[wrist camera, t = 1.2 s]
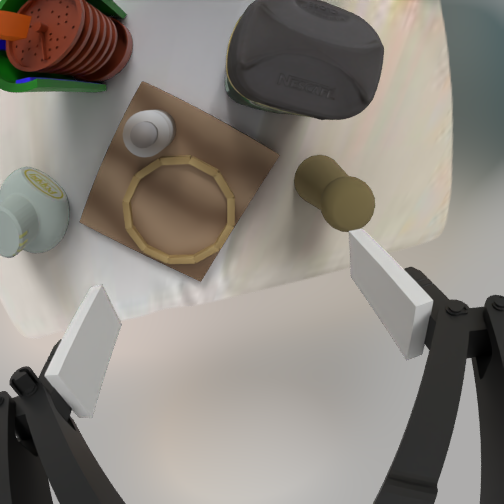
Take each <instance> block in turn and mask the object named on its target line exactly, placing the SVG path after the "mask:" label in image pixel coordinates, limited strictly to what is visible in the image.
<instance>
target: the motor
mask: <svg viewBox="0 0 504 504" xmlns="http://www.w3.org/2000/svg"><path fill="white" fill-rule="evenodd" d="M126 15H127V14H126V13H125V12H124V11H123V10H122V9H121V8H120V7H119V6H117V5H116V4H115V3H114V2H113V1H112V0H1V1H0V89H2V90H4V91H8V92H49V91H62V92H102V91H106V90H107V89H106V85H103V84H100V83H92V82H100V81H105V80H107V79H110V78H112V77H113V76H115V75H116V74H118V73H119V72H120V71H121V70H122V69H123V68H124V67H125V65H126V64H127V62H128V61H129V59H130V56H131V53H132V49H133V40H132V36H131V33H130V32H129V30H128V29H127V28H126V27H125V26H124V25H123V24H122V23H120V22H119V21H118V20H116V19H114V18H112V17H107V16H114V17H119V18H122V19H124V18H125V16H126ZM74 77H75V78H77V79H79V80H83V81H77V80H75V79H74ZM84 81H90V82H84Z"/></svg>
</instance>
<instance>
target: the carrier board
mask: <svg viewBox="0 0 504 504" xmlns="http://www.w3.org/2000/svg"><path fill="white" fill-rule="evenodd" d="M279 156H280V155H279V154H277V153H276V152H274V151H273V150H271V149H269V148H268V147H266V146H264V145H263V144H261V143H259V142H258V141H256V140H254V139H252V138H251V137H249V136H247V135H246V134H244V133H242V132H240V131H239V130H237V129H235V128H233V127H231V126H230V125H228V124H226V123H224V122H222V121H221V120H219V119H217V118H215V117H213V116H211V115H210V114H208V113H206V112H204V111H202V110H200V109H198V108H196V107H194V106H193V105H191V104H189V103H187V102H185V101H183V100H181V99H179V98H177V97H175V96H173V95H171V94H169V93H167V92H165V91H163V90H160V89H158V88H156V87H154V86H152V85H150V84H148V83H146V82H142V83H141V84H140V86H139V88H138V90H137V92H136V93H135V95H134V97H133V99H132V101H131V103H130V105H129V107H128V109H127V110H126V112H125V114H124V116H123V118H122V120H121V122H120V124H119V127H118V129H117V131H116V133H115V135H114V137H113V139H112V141H111V144H110V146H109V148H108V150H107V152H106V155H105V157H104V159H103V162H102V164H101V166H100V169H99V171H98V174H97V176H96V179H95V181H94V184H93V186H92V189H91V191H90V194H89V197H88V199H87V202H86V205H85V208H84V210H83V213H82V216H81V219H80V223H82V224H84V225H86V226H88V227H90V228H92V229H94V230H96V231H98V232H100V233H101V234H103V235H105V236H107V237H109V238H111V239H113V240H115V241H117V242H119V243H121V244H123V245H125V246H127V247H129V248H131V249H133V250H135V251H137V252H139V253H141V254H143V255H146V256H148V257H150V258H152V259H154V260H156V261H158V262H160V263H162V264H164V265H166V266H168V267H170V268H173V269H175V270H177V271H179V272H181V273H183V274H185V275H187V276H190V277H192V278H194V279H196V280H198V281H200V282H201V281H202V279H203V277H204V276H205V274H206V272H207V271H208V269H209V267H210V266H211V264H212V262H213V261H214V259H215V258H216V256H217V254H218V253H219V251H220V249H221V248H222V246H223V245H224V243H225V241H226V240H227V238H228V236H229V235H230V233H231V232H232V230H233V228H234V227H235V225H236V224H237V222H238V220H239V219H240V217H241V215H242V214H243V212H244V211H245V209H246V208H247V206H248V204H249V203H250V201H251V200H252V198H253V196H254V195H255V193H256V192H257V190H258V189H259V187H260V185H261V184H262V182H263V181H264V179H265V178H266V176H267V174H268V173H269V171H270V170H271V168H272V167H273V165H274V163H275V162H276V160H277V159H278V157H279Z"/></svg>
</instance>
